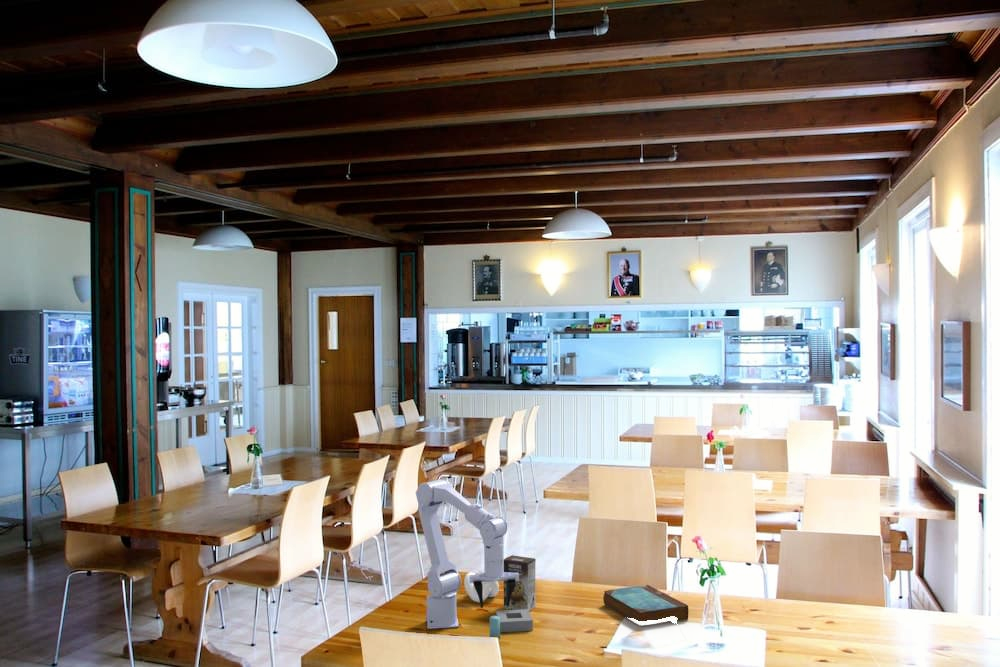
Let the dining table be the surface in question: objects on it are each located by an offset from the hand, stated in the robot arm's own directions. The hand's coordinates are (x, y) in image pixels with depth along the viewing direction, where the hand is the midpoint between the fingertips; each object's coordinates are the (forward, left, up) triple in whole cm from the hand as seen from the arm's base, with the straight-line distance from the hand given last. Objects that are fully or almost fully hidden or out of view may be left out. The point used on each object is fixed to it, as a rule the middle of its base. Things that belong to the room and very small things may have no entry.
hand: (494, 606), depth 230 cm
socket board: (+7, +10, -9) cm, 15 cm away
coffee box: (+11, +25, -10) cm, 29 cm away
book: (+50, +15, -10) cm, 53 cm away
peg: (0, 0, -9) cm, 9 cm away
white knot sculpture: (-1, +37, -10) cm, 38 cm away
